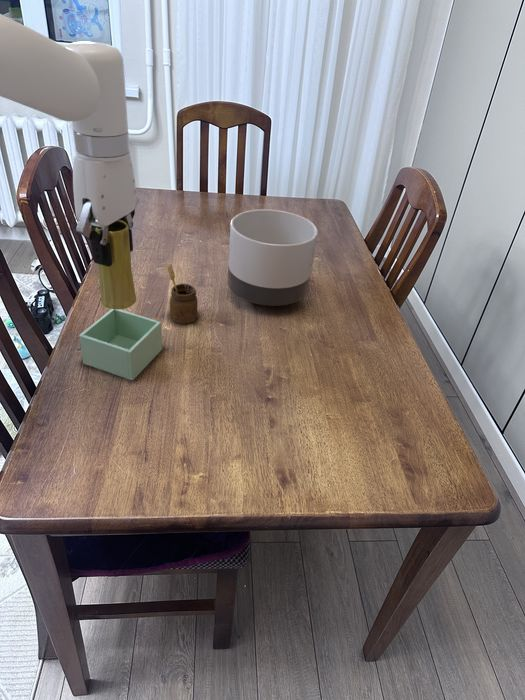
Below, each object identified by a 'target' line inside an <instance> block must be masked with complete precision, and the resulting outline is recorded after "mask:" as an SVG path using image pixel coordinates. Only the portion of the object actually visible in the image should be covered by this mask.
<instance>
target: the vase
mask: <svg viewBox="0 0 525 700" xmlns="http://www.w3.org/2000/svg"><path fill="white" fill-rule="evenodd" d="M100 231H101V228H99V227H96V232H97V233H98V234H100ZM107 243H110V247H111V257H112V265H111V266H110V267H108V266H104V265H101V264H97V265H98V267H97V268H98V279H99V291H100V304H101V305H102V306H103V307H105V308H107V309H110V310H111V309H120V310H124V309H128V308H131V307H132V306H134V305H135V304H136V302H137V295H136V289H135V283H134V276H133V270H132V255H131V252H130V242H129V228H128V225H127V223H126V222H124V221H121V220H117V221H115V222H113V223H112V224H110V225H108V237H107Z"/></svg>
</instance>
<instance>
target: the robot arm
mask: <svg viewBox="0 0 525 700" xmlns="http://www.w3.org/2000/svg"><path fill="white" fill-rule="evenodd" d="M0 97H2V98H4V99H7V100H8V101H11V102H15V103H17V104H19V105H22V106H25V107H28V108H30V109H33V110H36V111H37V112H40V113H42V114H45V115H48V116H50V117H54V118H55V119H58V120H60V121H64V122H71V123H72V131H73V139H74V147H75V153H76V155H74V156H73V163H72V164H73V165H72V192H73V199H74V200H73V202H74V211H75V216H76V220H77V221H78V222H77V224H76V226H75V227H76V228H75V231H76V232H77V233H78V234H80V235H81V236H84V238H85V239H87V241H88V242H90V245H91V253H92V261H93V263H95V264H97V265H98V264H101V265H104V266H108V267H110V266H111V265H112V257H111V247H110V243H107V237H108V225H110V224H112V223H113V222H115V221H117V220H121V221H124V222H126V223H127V225H128V228H129V242H130V253H131V252H133V251H134V241H133V230H132V229H133V228H134V220H133V219H134V217H135V214H136V209H137V207H138V205H139V202H140V200H139V198H138V197H137V191H136V190H137V187H136V181H135V172H134V167H133V160H132V156H131V152H130V151H131V150H130V137H129V124H128V123H129V122H128V110H127V109H128V108H127V94H126V79H125V66H124V59H123V56H122V53H121V51H120V50H119V49H118V48H117V47H115V46H114V45H111V44H108V43H102V42H92V41H76V42H71V43H68V44H65V43H60V42H57V41H56V40H53V39H51V38H49V37H48V36H45V35H44V34H41V33H40V32H37V31H36V30H34V29H32V28H30V27H28V26H26V25H24V24H22V23H20V22H18V21H16V20H14V19H12V18H10V17H8V16H6V15H4V14H2V13H0ZM96 227H99V228H101V231H100V234H98V233H97V232H96Z"/></svg>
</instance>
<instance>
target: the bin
mask: <svg viewBox="0 0 525 700" xmlns="http://www.w3.org/2000/svg"><path fill="white" fill-rule="evenodd" d="M162 329H163V328H162V321H159V320H155V319H152V318H150V317H149V318H148V317H146V316H143V315H139V314H136V313H133V312H130V311H126V310H124V309H110V310H109V311H107V312H106V313H104V314H103V315H102V316H101V317H100V318H98V319H97V320H96V321H95V322H93V323H92V324H91V325H90V326H88V327H87V328H86V329H85V330H83V331H82V332H81V333H80V334H79V335H78V339H79V346H80V351H81V357H82V363H83V365H85V366H88V367H92V368H95V369H97V370H101V371H104V372H106V373H109V374H112V375H115V376H118V377H121V378H124V379H127V380H130V381H134V380H135V379H136V378H137V377H138V375H140V373H142V372H143V370H145V368H146V367H148V365H149V364H150V363H151V362H152V360H154V359H155V358H156V357H157V356H158V355H159V353H160V352H161V351H163V334H162Z"/></svg>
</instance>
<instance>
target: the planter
mask: <svg viewBox="0 0 525 700" xmlns="http://www.w3.org/2000/svg"><path fill="white" fill-rule="evenodd" d="M229 228H230V229H229V245H228V247H229V248H228V260H227V261H228V263H227V282H226V283H227V287H228V288H229V290H230V291H231V292H232V293H233V294H234V295H236V296H237V297H239V298H240V299H242V300H244V301H247V302H249V303H252V304H256V305H261V306H269V307H270V306H271V307H272V306H273V307H275V306H276V307H277V306H280V307H281V306H287V305H292V304H294V303H297V302H299V301H301V300H302V299H304V297H306V295H307V294H308V291H309V286H310V281H311V275H312V270H313V263H314V257H315V252H316V246H317V240H318V235H319V231H318V227H317V226H316V225H315V223H313V222H312V221H311V220H309V219H308V218H307V217H304V216H302V215H299V214H297V213H293V212H289V211H286V210H280V209H268V208H265V209H264V208H262V209H251V210H246V211H243V212H240V213H238V214H236V215H234V217H233V218H232V219H231V221H230V227H229Z"/></svg>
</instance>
